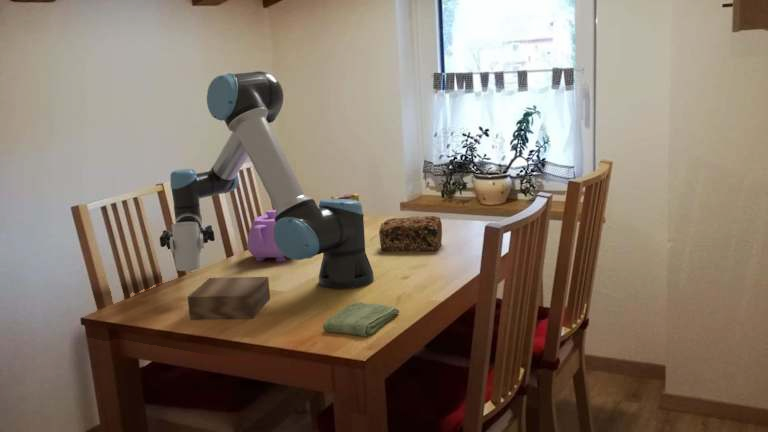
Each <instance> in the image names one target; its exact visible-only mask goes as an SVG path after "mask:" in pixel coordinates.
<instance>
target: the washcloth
mask: <svg viewBox="0 0 768 432" xmlns="http://www.w3.org/2000/svg"><path fill="white" fill-rule="evenodd" d="M399 313H400V310H399V309H398V308H396V307H394V306H388V305H383V304H380V303H373V302H372V303H364V302H362V301H355V302H352V303H351V304H347V306H345V307H344V308H342V309H341V310H340V311H338V312H337V313H335V314H333V315H331V316H329V318H327V319H326V320H325V321H324V322H323V325H322V329H323V331H324V332H326V333H336V334H347V335H352V336H358V337H365V338H366V337H369V336H371V335H373V334H374V333H376V332H377V331H378V330H379V329H382V327H383V326H384V325H385V324H386V323H387V322H389V321H390V320H391V319H392V318H393V317H395V316H396V315H397V314H399Z"/></svg>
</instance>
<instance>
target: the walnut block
mask: <svg viewBox="0 0 768 432" xmlns="http://www.w3.org/2000/svg"><path fill="white" fill-rule="evenodd" d="M269 282H270V281H269V276H241V277H240V276H239V277H237V276H236V277H235V276H234V277H233V276H232V277H231V276H230V277H209V278H207V279H206V280H205V281H204V282H203V283H202V284H201V285H199V286H198V287H197V288H196V289H195V290H193V291H192V293H190V294H189V295H188V296H187V303H188V311H189V312H188V313H189V320H190V321H216V320H217V321H218V320H219V321H220V320H223V321H227V320H230V321H231V320H254V319H255V317H256V316H257V315H258V314H259V312H260V311H261V310H262V309H263V308H264V307H265V305H266V304H267V303H268V302H269V301H270V299H271V295H270V292H271V291H270V284H269Z"/></svg>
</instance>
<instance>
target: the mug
mask: <svg viewBox="0 0 768 432" xmlns="http://www.w3.org/2000/svg"><path fill="white" fill-rule="evenodd" d="M171 230H172V231H171V232H172V234H173V243H174V252H173V253H174V261H175V268H176V270H177V271H179V272H190V271H197V270H198V269H200V268H201V255H200V254H201V252H202V251H201V250H202V249H201V244H200V234H201V232H200V229H199V225H198V223H197V222H180V223H176V222H174V223H173V224H171Z"/></svg>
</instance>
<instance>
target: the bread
mask: <svg viewBox="0 0 768 432" xmlns="http://www.w3.org/2000/svg"><path fill="white" fill-rule="evenodd" d="M442 224H443V223H442V221H441V218H440V217H439V216H435V215H425V216H410V217H397V218H396V217H395V218H389V219H386V220H384V222H382V223H381V225H380V227H379V230H378V231H379V235H378V236H379V243H380V244H379V245H380V248H381V249H380V250H381V251H382V252H383V253H384V252H399V253H400V252H433V251H438V250H439V249H440V247H441V246H442V242H443V241H442V238H443V231H442V230H443V228H442V227H443V225H442Z"/></svg>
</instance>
